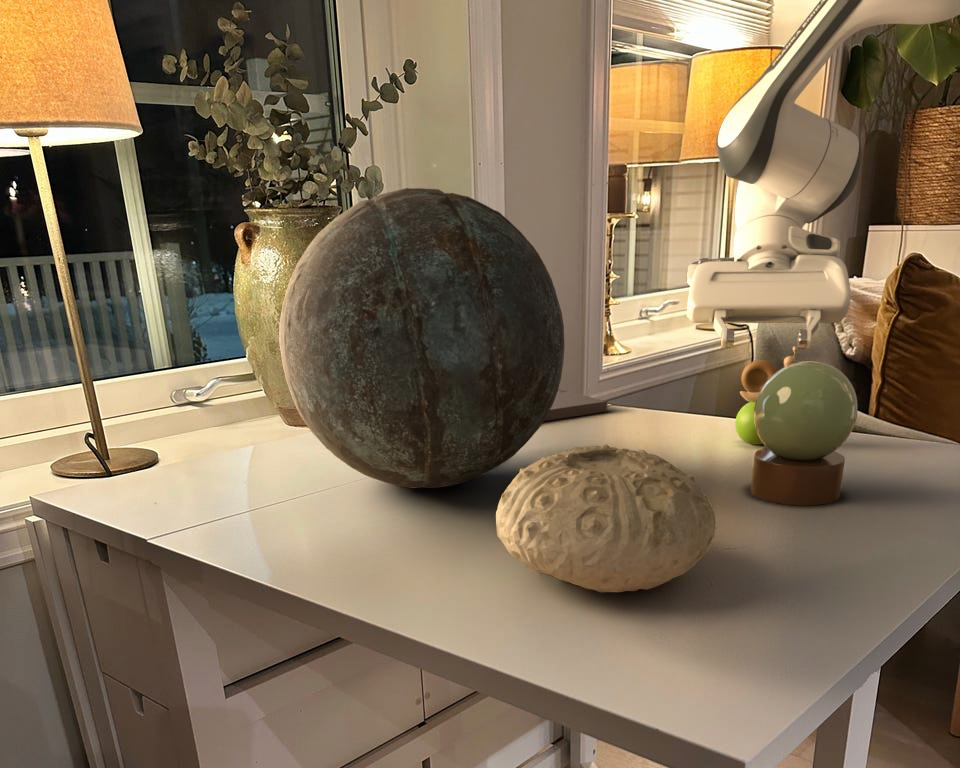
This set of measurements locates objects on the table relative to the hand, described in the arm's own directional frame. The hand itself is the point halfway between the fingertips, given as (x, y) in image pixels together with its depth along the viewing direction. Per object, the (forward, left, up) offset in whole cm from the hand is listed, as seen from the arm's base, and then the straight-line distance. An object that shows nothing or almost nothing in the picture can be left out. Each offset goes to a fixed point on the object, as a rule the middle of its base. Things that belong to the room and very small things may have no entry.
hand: (765, 345), depth 117 cm
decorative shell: (+51, +24, -12) cm, 58 cm away
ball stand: (+19, +20, -11) cm, 30 cm away
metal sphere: (+46, -9, -12) cm, 48 cm away
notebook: (+14, -31, -12) cm, 36 cm away
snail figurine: (+4, +4, -12) cm, 13 cm away
